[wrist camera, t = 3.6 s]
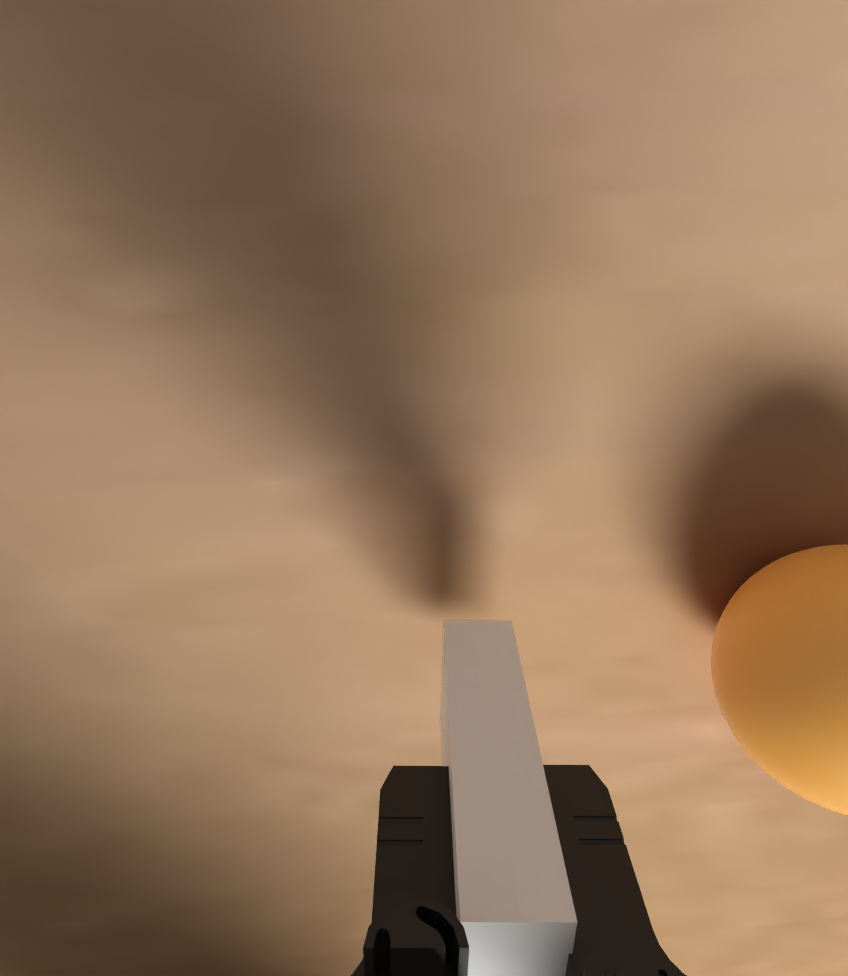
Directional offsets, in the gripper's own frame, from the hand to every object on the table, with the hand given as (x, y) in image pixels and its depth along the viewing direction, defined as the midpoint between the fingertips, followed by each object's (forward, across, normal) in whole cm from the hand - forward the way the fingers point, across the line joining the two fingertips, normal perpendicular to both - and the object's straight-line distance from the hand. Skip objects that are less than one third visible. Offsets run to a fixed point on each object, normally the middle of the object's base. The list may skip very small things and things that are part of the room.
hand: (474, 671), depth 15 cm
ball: (-1, -8, -1) cm, 8 cm away
